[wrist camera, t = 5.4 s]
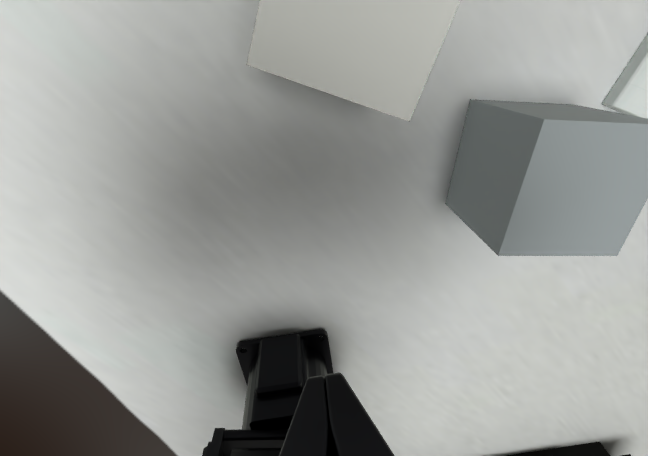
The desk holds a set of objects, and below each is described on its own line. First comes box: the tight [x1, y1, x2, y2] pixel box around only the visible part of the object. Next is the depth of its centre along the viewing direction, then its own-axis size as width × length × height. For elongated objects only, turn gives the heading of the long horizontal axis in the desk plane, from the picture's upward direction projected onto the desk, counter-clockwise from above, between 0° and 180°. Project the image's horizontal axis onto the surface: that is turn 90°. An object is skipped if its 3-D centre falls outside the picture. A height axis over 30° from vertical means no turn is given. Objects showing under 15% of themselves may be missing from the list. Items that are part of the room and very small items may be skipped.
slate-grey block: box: [446, 99, 648, 256], centre depth 17 cm, size 6×6×6 cm
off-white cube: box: [246, 0, 461, 122], centre depth 13 cm, size 6×6×6 cm
